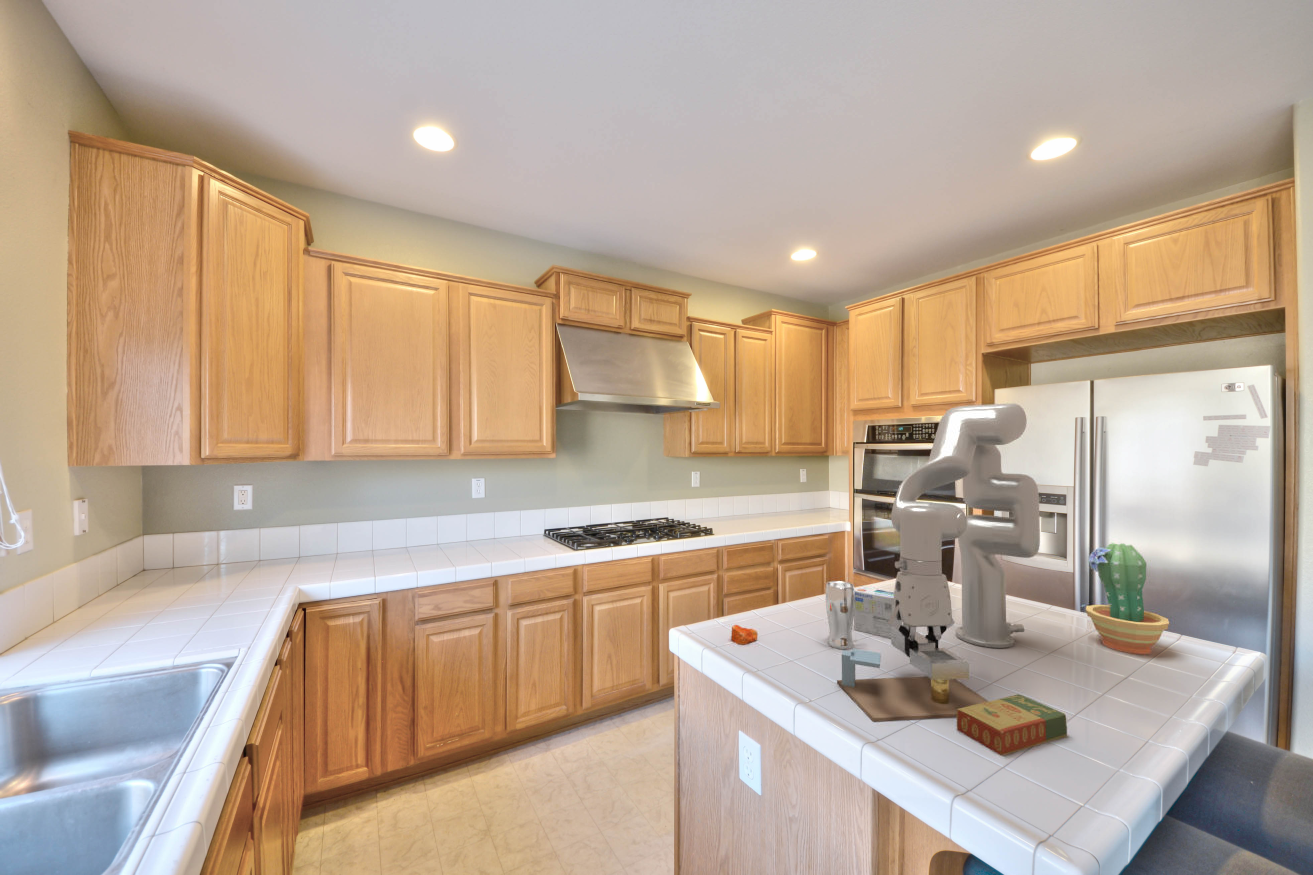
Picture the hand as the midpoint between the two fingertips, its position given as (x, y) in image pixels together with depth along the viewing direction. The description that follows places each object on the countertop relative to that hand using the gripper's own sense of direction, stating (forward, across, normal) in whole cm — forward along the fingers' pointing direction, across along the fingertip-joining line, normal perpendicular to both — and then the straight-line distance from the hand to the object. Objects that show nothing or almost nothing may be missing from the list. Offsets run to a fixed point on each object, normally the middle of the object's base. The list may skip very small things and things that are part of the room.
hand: (921, 656), depth 104 cm
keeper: (+7, -11, +1) cm, 13 cm away
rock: (+8, -29, +30) cm, 42 cm away
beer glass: (+7, -6, +25) cm, 26 cm away
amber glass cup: (+7, 0, -5) cm, 9 cm away
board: (+7, -3, -3) cm, 8 cm away
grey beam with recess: (+1, 0, 0) cm, 1 cm away
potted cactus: (+6, +63, +17) cm, 66 cm away
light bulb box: (+7, +8, +33) cm, 34 cm away
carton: (+7, +6, -16) cm, 19 cm away
